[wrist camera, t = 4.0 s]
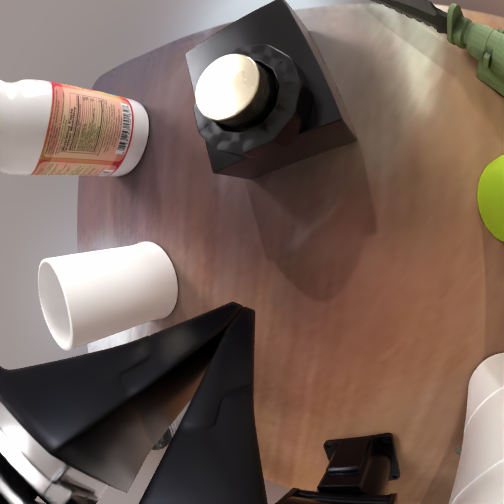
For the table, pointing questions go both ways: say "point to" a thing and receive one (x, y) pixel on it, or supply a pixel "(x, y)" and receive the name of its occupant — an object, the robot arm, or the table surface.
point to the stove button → (235, 91)
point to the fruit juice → (68, 130)
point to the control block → (287, 95)
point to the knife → (461, 36)
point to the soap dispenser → (492, 197)
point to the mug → (105, 292)
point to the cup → (483, 438)
